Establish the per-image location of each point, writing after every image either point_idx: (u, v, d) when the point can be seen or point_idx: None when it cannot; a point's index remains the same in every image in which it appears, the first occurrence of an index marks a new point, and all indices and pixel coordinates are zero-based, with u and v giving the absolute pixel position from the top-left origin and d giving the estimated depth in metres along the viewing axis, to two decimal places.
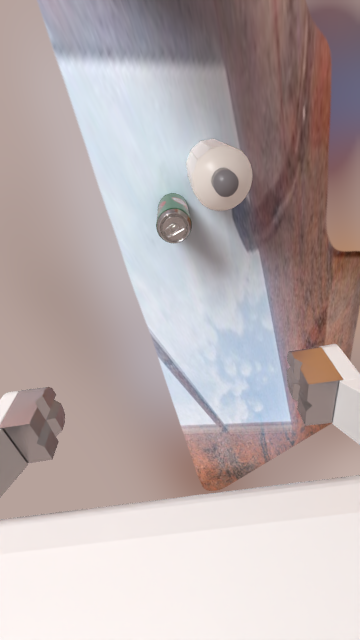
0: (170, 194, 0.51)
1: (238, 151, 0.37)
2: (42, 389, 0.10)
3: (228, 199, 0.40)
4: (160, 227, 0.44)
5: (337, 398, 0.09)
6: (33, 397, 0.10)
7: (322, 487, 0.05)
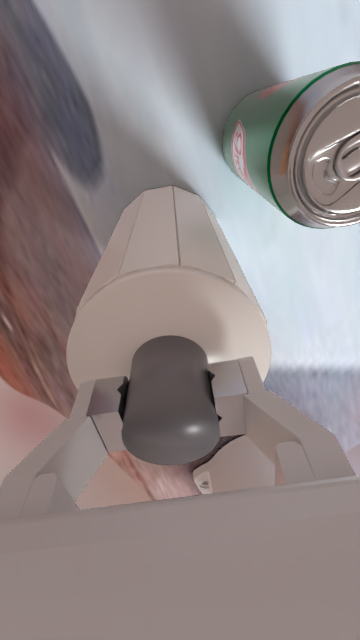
0: None
1: None
2: (120, 377, 0.10)
3: (141, 312, 0.10)
4: None
5: (244, 411, 0.09)
6: (113, 385, 0.10)
7: (322, 487, 0.05)
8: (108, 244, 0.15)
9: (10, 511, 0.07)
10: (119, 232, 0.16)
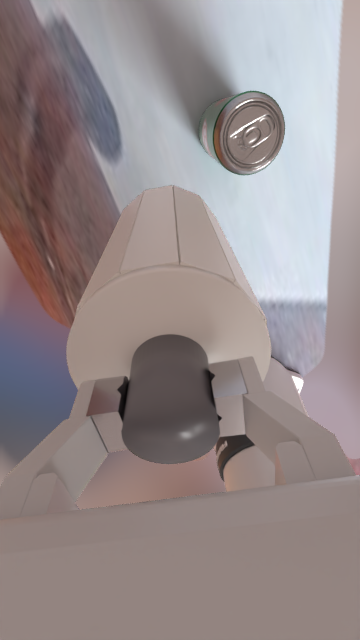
0: None
1: None
2: (120, 377, 0.10)
3: (141, 311, 0.10)
4: (279, 138, 0.21)
5: (245, 411, 0.09)
6: (114, 385, 0.10)
7: (322, 487, 0.05)
8: (108, 243, 0.16)
9: (10, 511, 0.07)
10: (119, 231, 0.16)
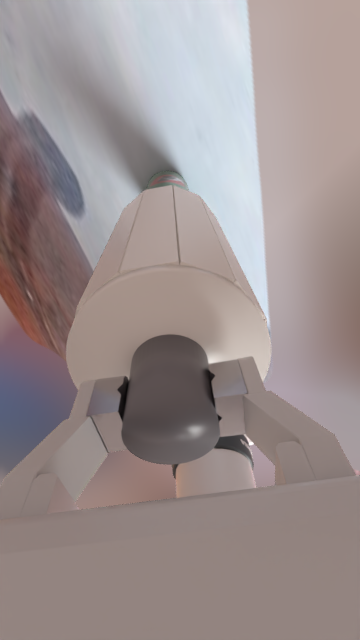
0: None
1: None
2: (120, 377, 0.10)
3: (141, 311, 0.10)
4: None
5: (245, 411, 0.09)
6: (113, 385, 0.10)
7: (322, 487, 0.05)
8: (108, 243, 0.15)
9: (9, 512, 0.07)
10: (119, 231, 0.16)
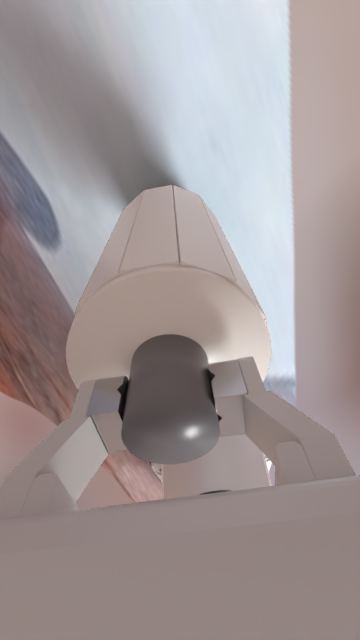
0: None
1: None
2: (120, 377, 0.10)
3: (141, 311, 0.10)
4: None
5: (244, 411, 0.09)
6: (113, 385, 0.10)
7: (322, 487, 0.05)
8: (108, 243, 0.15)
9: (9, 512, 0.07)
10: (119, 231, 0.16)
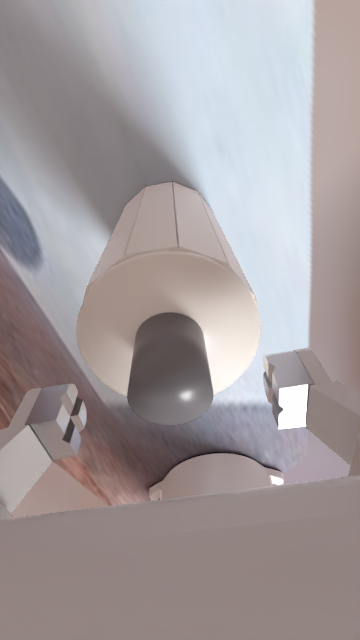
0: None
1: None
2: (66, 385, 0.10)
3: (144, 290, 0.11)
4: None
5: (308, 402, 0.09)
6: (57, 393, 0.10)
7: (322, 487, 0.05)
8: (112, 234, 0.17)
9: None
10: (122, 223, 0.17)
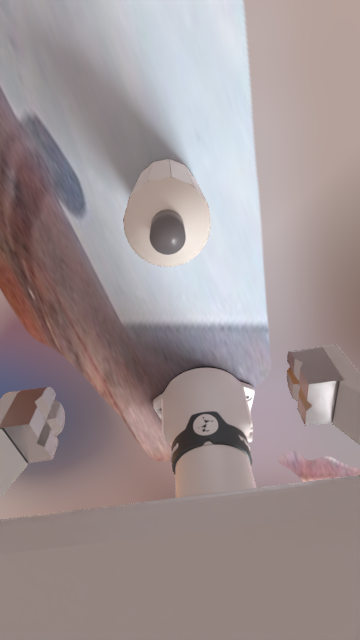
0: None
1: (149, 260, 0.28)
2: (42, 389, 0.10)
3: (155, 197, 0.25)
4: None
5: (337, 398, 0.09)
6: (33, 397, 0.10)
7: (322, 487, 0.05)
8: (136, 183, 0.31)
9: None
10: (142, 177, 0.31)
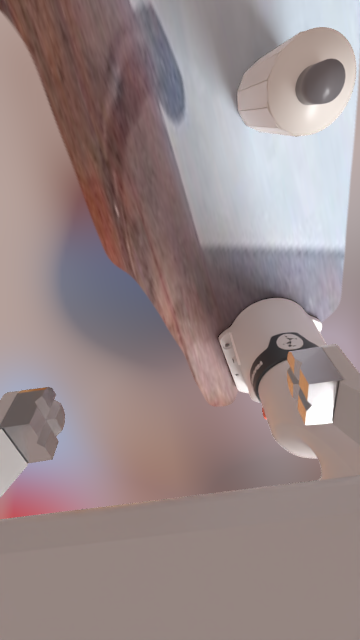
0: None
1: (285, 128, 0.28)
2: (42, 389, 0.10)
3: (307, 49, 0.25)
4: None
5: (337, 398, 0.09)
6: (33, 397, 0.10)
7: (322, 487, 0.05)
8: (261, 61, 0.31)
9: None
10: (266, 56, 0.31)
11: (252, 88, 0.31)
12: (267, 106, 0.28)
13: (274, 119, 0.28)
